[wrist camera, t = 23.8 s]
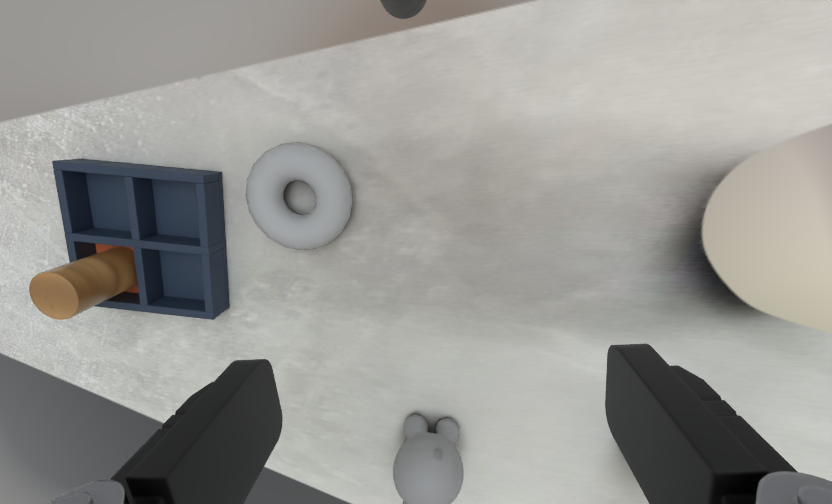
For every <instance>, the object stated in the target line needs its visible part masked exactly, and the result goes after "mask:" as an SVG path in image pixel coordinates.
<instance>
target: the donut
mask: <svg viewBox="0 0 832 504" xmlns="http://www.w3.org/2000/svg"><path fill="white" fill-rule="evenodd" d="M294 180H301V181H304V182H305V183H307V184H309V185H310V187H311V188H312V189H313V191H314V193H315V196H316V205H315V208H314V210H313V211H312V212H311V213H309V214H306V215H299V214H296V213H294V212H292V211H291V210H290V209H289V208H288V207H287V205H286V203H285V201H284V189H285V187H286V185H287V184H288V183H289V182H291V181H294ZM246 198H247V203H248V208H249V212H250V214H251V216H252V217H253V219H254V221H255V223H256V225H257V226H258V227H259V228H260V229H261V230H262V231H263V232H264V233H265V235H266V236H267V237H268V238H270V239H272V240H274V241H275V242H277V243H279V244H280V245H282V246H285V247H289V248H293V249H298V250H303V249H315V248H317V247H320V246H322V245H325V244H327V243H330V242H331V241H332V240H333V239H335V238H336V237H337V236H338V235H339V234H340V233H341V232H342V231H343V229H344V227H345V225H346V224H347V222H348V220H349V218H350V214H351V208H352V203H353V199H352V191H351V184H350V182H349V180H348V178H347V176H346V174H345V172H344V169H343V168H342V167H341V166H340V165H339V164H338V163H337V161H336V160H335V159H334V158H333V157H332V156H331V155H329V154H327V153H326V152H324V151H322V150H321V149H319V148H317V147H315V146H311V145H307V144H303V143H289V144H281V145H279V146H277V147H275V148H273V149H271V150H268V151H266V152H265V153H264V154H263V155H262V156H261V157H260V158H259V159H258V160H257V161H256V162H255V163H254V165H253V167H252V169H251V172H250V174H249V176H248V178H247V188H246Z"/></svg>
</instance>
